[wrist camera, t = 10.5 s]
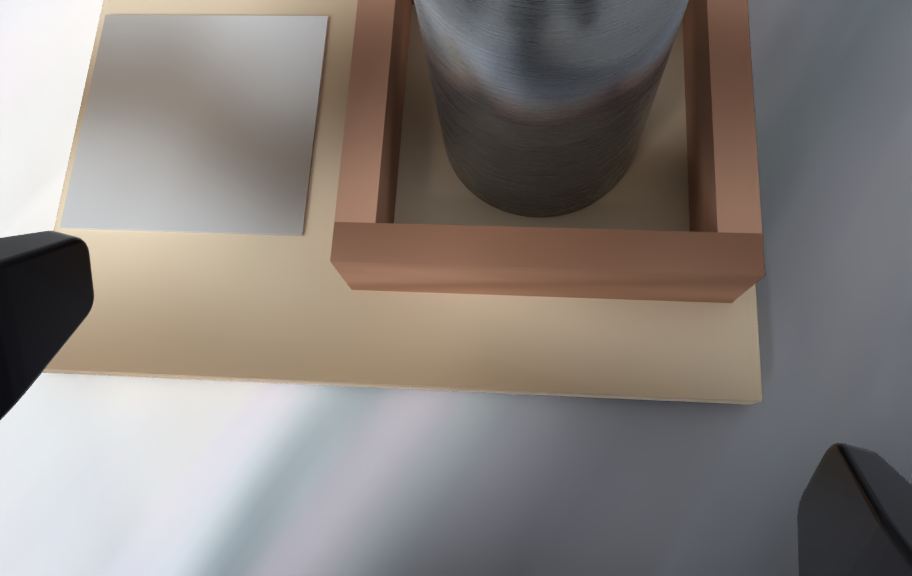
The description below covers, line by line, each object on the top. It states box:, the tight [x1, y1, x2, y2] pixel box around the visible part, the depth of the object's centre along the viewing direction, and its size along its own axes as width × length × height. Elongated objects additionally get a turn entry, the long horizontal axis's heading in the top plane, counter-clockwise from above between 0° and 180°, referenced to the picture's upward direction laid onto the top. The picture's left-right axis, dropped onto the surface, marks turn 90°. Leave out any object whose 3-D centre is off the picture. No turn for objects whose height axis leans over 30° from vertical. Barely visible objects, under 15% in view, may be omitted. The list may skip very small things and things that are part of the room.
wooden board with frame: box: [42, 0, 765, 405], centre depth 16 cm, size 12×16×3 cm
